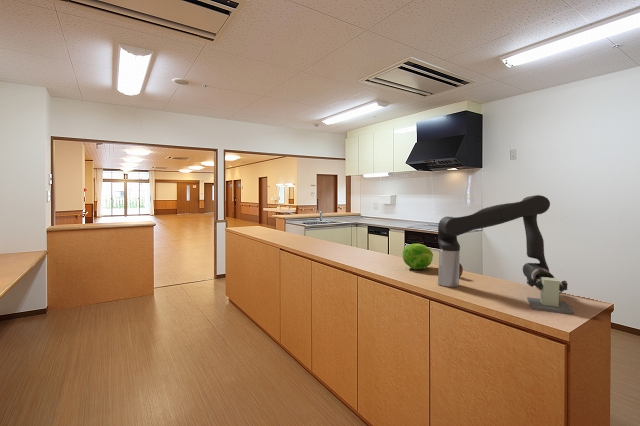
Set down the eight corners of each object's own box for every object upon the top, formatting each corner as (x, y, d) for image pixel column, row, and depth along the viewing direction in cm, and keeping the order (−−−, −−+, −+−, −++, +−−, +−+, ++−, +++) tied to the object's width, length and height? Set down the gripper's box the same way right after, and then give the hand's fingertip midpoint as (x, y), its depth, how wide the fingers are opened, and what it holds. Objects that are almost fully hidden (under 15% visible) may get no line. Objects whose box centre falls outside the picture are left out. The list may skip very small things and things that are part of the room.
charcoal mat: (532, 309, 125) (532, 306, 125) (527, 299, 137) (527, 297, 137) (573, 314, 120) (574, 311, 120) (564, 303, 132) (564, 301, 132)
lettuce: (438, 272, 193) (443, 247, 192) (416, 273, 182) (421, 247, 180) (415, 264, 207) (420, 241, 205) (394, 265, 195) (398, 240, 194)
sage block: (542, 304, 127) (544, 279, 127) (540, 301, 132) (541, 276, 131) (558, 306, 125) (559, 281, 125) (555, 303, 130) (556, 278, 129)
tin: (438, 272, 184) (439, 258, 183) (443, 272, 185) (443, 257, 184) (458, 279, 169) (459, 263, 169) (463, 278, 171) (464, 263, 170)
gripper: (523, 268, 144) (529, 276, 129) (563, 271, 138) (574, 280, 123) (522, 284, 144) (529, 295, 129) (562, 288, 138) (573, 300, 123)
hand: (551, 288), depth 126 cm, fingers open, 6 cm apart
